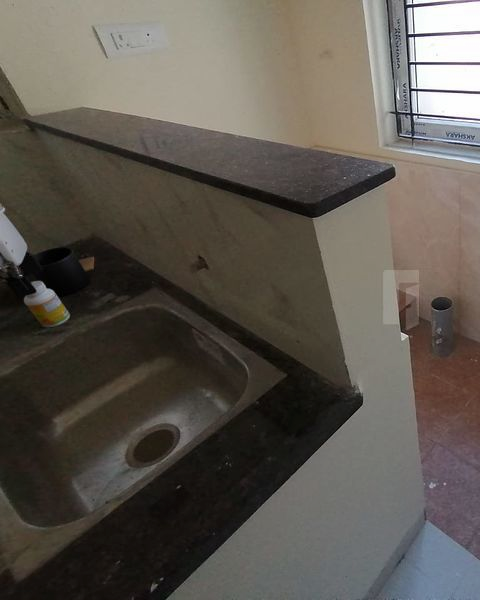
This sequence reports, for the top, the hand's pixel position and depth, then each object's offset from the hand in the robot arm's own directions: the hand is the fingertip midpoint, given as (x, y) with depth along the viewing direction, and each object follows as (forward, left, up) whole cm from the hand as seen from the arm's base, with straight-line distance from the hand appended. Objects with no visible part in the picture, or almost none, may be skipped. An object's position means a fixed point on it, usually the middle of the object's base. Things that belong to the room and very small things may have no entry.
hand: (31, 283), depth 83 cm
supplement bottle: (0, 0, -11) cm, 11 cm away
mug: (0, +15, -11) cm, 18 cm away
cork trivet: (+3, +25, -10) cm, 27 cm away
